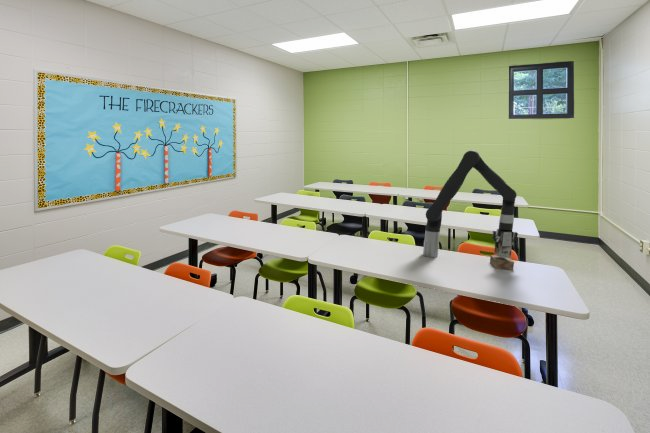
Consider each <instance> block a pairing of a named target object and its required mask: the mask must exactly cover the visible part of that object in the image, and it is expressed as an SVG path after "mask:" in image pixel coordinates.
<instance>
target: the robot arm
mask: <svg viewBox="0 0 650 433" xmlns="http://www.w3.org/2000/svg"><path fill="white" fill-rule="evenodd" d="M472 169H475V170H476V171H477V172H478V173H479V174H480V175H481V176H482V178H483V179H485V181H486V182H487V183H488V184H489V185H490V186H491V187H492V188H493V189H494V190H495V191H497V192H498V194H499V195H500V196H501V197H502V206H501V210H500V216H499V220H498V222H499V223H498V229H499V230H498V231H497V230H492V238H491V239H492V240H493V241H494V248H495V247H496V248H498V243H499V242H498V241H499V239H500V237H498V236H497V238H496V234H497V233H498V234H499V235H500V231H512V232H514V235H513V243H516V242H517V241H518V240H517V239H518V235H519V233H518V232H516V231H513V229H514V228H513V227H514V220H515V203H516V198H517V192H516V190H515V189H513V188H512V187H511V186H510V185H508V184H507V182H506V181H505V180H504V179H503V178H502V177H501V176H500V175H498V174H497V173H496V172H495V171H494V170H493V169H492V168H491V167H490V166H488V164H486V162H485V161H484V160H483V158H482V157H481V155H480V154H479V152H478V151H476V150H473V149H472V150H471V149H470V150H468V151H466V152H465V153H464V154H463V156H462V158H461V160H460V162H459V164H458V166H457V167H456V168H455V170H454V171H453V173H451V175H450V176H449V177H448V179H447V180H446V182H445V183H444V185H443V186H442V188H441V190H440V192H439V193H438V195H437V197H436V199H435V200H434V201H433V203H431V205H430V206H429V207H428V208H427V210H426V211H425V218H426V220H427V221H426V225H425V233H424V240H423V249H422V250H423V251H422V254H423V256H424V257H428V258H437V257H438V255H439V247H440V246H439V243H440V233H441V226H442V221H443V220H442V219H443V218H442V217H443V210H444V209H445V208H446V206H447V205H448V204H449V203H450V202H451V201H452V200H453V198H455V196H456V195H457V193H458V192H459V191H460V190H461V188H462V186H463V184H464V182H465V180H466V177H467V176H468V174H469V173H470V172H471V170H472Z"/></svg>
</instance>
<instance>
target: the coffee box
mask: <svg viewBox="0 0 650 433" xmlns="http://www.w3.org/2000/svg"><path fill="white" fill-rule="evenodd" d="M498 230H499V228H497V229H496V231H498ZM514 232H515V231H513V230H512V231H500V235H499V234H498V233H497V234H496V238H497V236H498V237H500V239H499V241H498V242H499V243H498V248H496V247H495V246H494V254H493V255H495V256H499V257H501V258H510V259H512V258H511V257H512V250H513V243H514V242H513V237H514Z"/></svg>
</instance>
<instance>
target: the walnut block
mask: <svg viewBox="0 0 650 433" xmlns="http://www.w3.org/2000/svg"><path fill="white" fill-rule="evenodd" d="M489 264H491V265H492V267H493V268H495V269H497V270H509V271H510V270H511V271H514V267H515V266H514V265H515V261H513V260H512V258H501V257H499V256H497V255H496V254H491V255H490V259H489Z"/></svg>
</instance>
